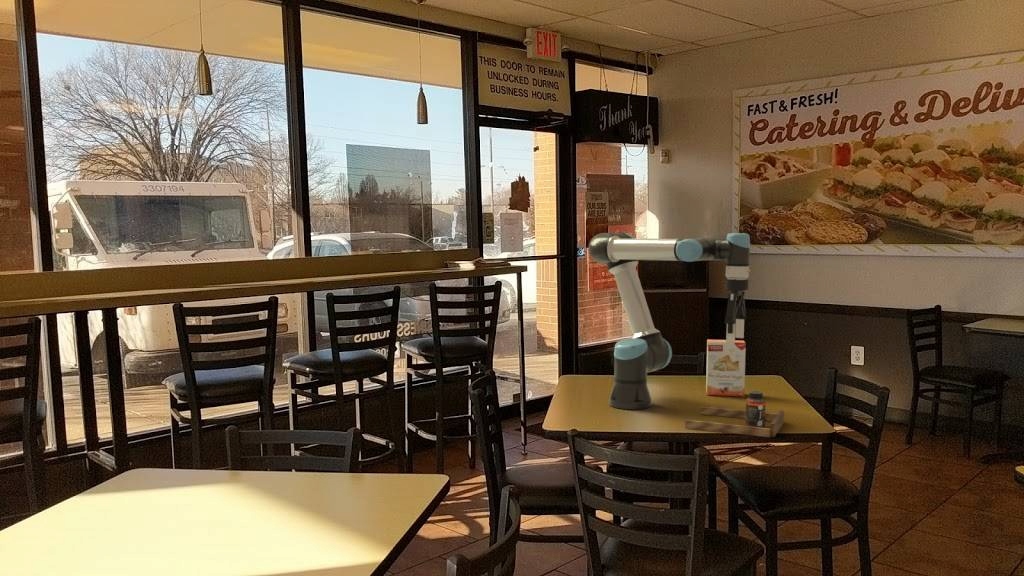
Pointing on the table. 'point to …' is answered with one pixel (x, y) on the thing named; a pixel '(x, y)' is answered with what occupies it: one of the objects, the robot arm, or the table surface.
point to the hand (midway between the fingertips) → (735, 340)
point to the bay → (737, 429)
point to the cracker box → (725, 368)
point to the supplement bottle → (755, 410)
